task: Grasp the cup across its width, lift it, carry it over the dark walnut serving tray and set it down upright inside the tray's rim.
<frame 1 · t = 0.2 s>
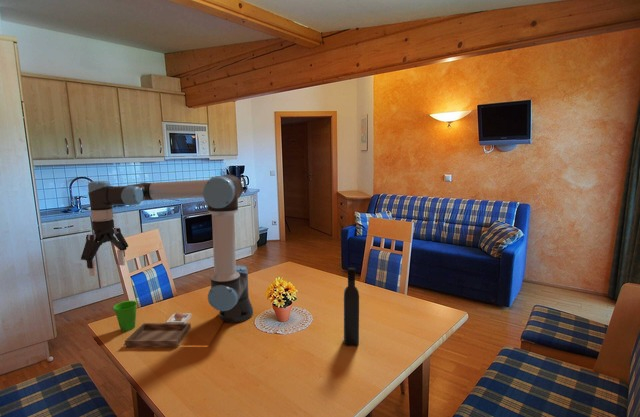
hand: (108, 270, 143), 26 cm above the table, fingers open, 13 cm apart
tray: (159, 338, 140), on the table
cup: (128, 329, 148), on the table
dish: (179, 321, 154), on the table
wine bottle: (351, 342, 136), on the table
ball: (179, 320, 154), point 1 cm above the table, touching dish
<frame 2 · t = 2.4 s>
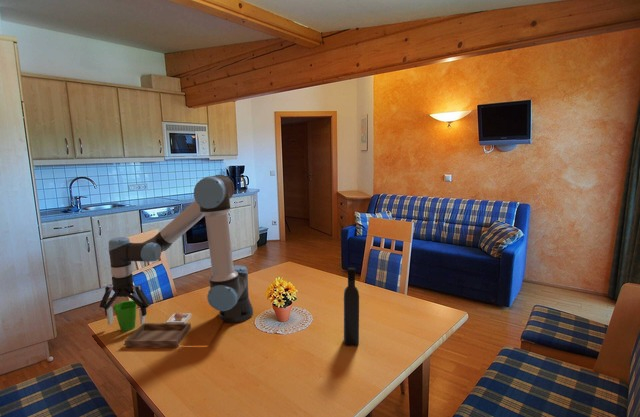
hand: (126, 322, 147), 3 cm above the table, fingers open, 13 cm apart
nothing on the table moved.
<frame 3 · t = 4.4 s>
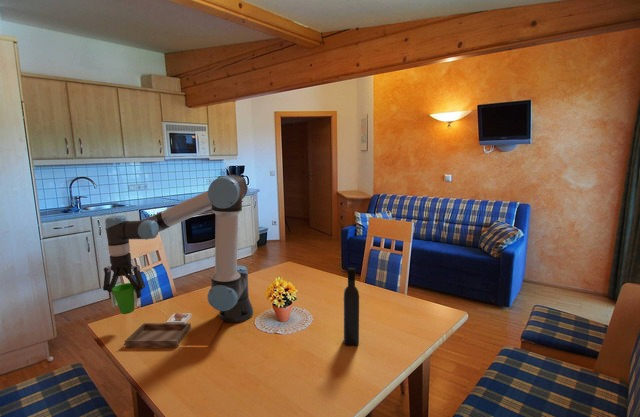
hand: (126, 305, 146), 11 cm above the table, fingers closed on cup, 9 cm apart
cup: (127, 311, 146), point 8 cm above the table, touching gripper
everything else where it was.
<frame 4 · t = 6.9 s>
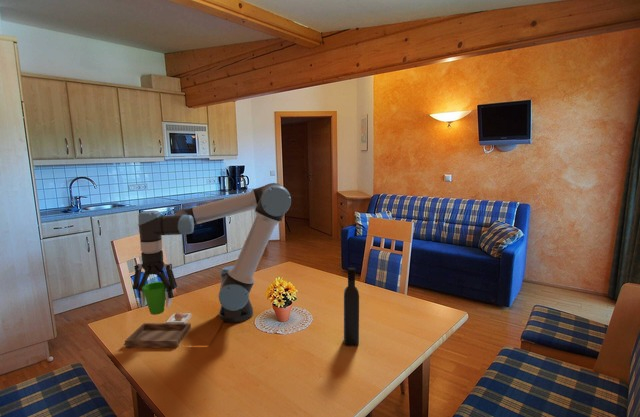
hand: (156, 305, 138), 14 cm above the table, fingers closed on cup, 9 cm apart
cup: (157, 312, 139), point 11 cm above the table, touching gripper
everything else where it was.
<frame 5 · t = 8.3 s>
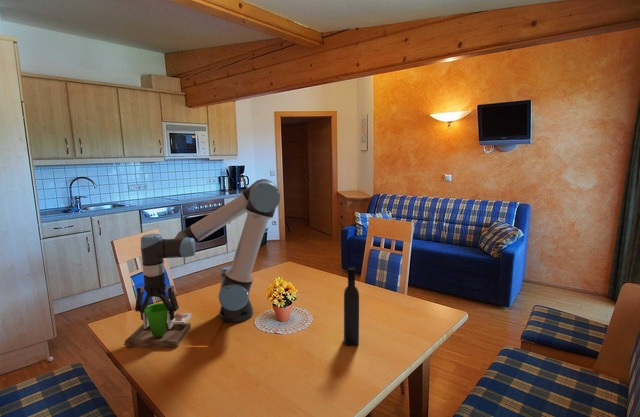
hand: (158, 327, 140), 5 cm above the table, fingers closed on cup, 9 cm apart
cup: (159, 333, 140), point 2 cm above the table, touching gripper
everything else where it was.
when the fingers open (4 cm above the table, at t = 9.5 s): cup stays where it is, resting on tray.
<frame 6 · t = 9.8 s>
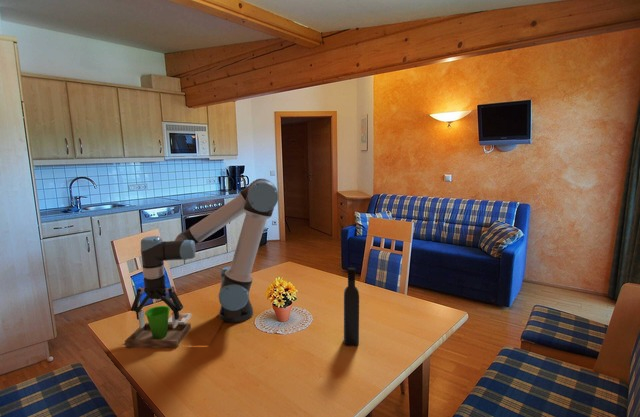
hand: (158, 326, 140), 5 cm above the table, fingers open, 13 cm apart
cup: (160, 336, 140), point 1 cm above the table, touching tray
everything else where it was.
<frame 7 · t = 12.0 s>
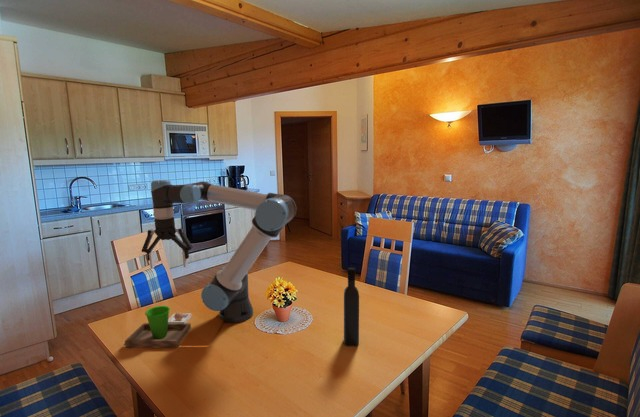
hand: (169, 266, 147), 26 cm above the table, fingers open, 13 cm apart
nothing on the table moved.
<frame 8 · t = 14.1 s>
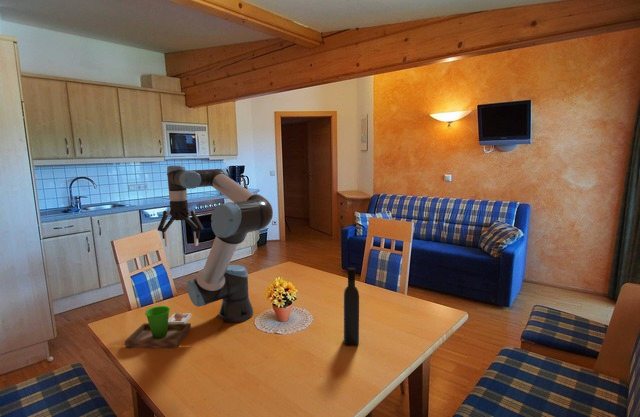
hand: (181, 245, 160), 32 cm above the table, fingers open, 13 cm apart
nothing on the table moved.
at the end: cup inside the target area on the tray (0.2 cm from its centre), point 0.6 cm above the tray's base; cup tilted 0°; the gripper is holding nothing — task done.
